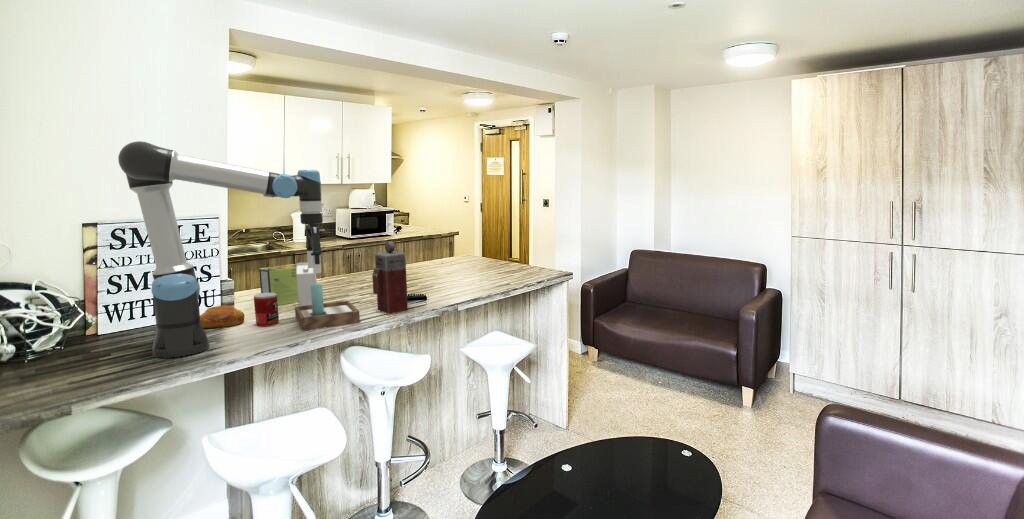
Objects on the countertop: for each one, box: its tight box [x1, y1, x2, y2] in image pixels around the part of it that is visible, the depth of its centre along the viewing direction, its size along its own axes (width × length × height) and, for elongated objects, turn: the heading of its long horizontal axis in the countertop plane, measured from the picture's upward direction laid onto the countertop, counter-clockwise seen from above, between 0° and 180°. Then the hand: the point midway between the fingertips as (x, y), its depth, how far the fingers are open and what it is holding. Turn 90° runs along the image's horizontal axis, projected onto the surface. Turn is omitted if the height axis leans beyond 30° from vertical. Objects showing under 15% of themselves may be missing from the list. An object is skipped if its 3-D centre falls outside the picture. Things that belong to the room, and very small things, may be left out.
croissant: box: [200, 304, 245, 329], centre depth 196 cm, size 14×16×8 cm
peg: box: [311, 283, 324, 316], centre depth 197 cm, size 4×4×14 cm
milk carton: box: [296, 261, 318, 306], centre depth 219 cm, size 7×7×19 cm
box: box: [294, 300, 361, 331], centre depth 199 cm, size 20×20×4 cm
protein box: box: [258, 263, 299, 306], centre depth 230 cm, size 10×15×16 cm
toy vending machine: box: [372, 241, 409, 314], centre depth 211 cm, size 9×11×28 cm
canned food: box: [253, 292, 280, 327], centre depth 195 cm, size 8×8×11 cm
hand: (314, 270), depth 195 cm, fingers open, 13 cm apart
